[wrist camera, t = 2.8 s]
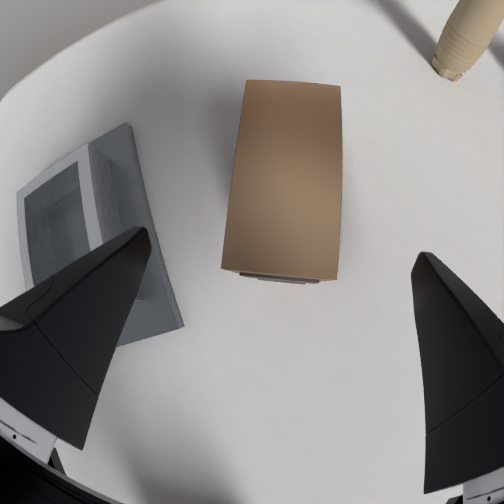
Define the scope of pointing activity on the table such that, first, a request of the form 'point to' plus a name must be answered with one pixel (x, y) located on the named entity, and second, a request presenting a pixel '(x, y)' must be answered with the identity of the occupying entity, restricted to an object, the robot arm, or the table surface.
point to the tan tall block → (286, 184)
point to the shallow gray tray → (95, 224)
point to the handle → (467, 36)
